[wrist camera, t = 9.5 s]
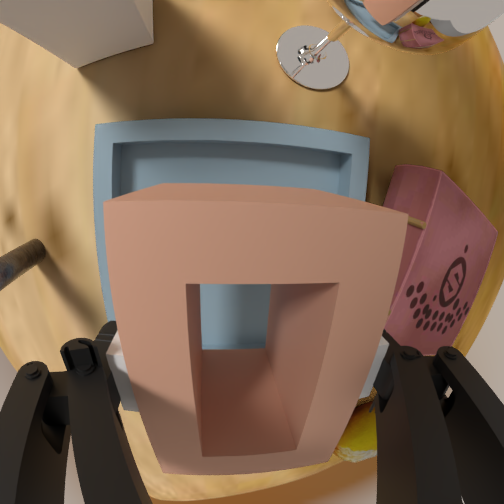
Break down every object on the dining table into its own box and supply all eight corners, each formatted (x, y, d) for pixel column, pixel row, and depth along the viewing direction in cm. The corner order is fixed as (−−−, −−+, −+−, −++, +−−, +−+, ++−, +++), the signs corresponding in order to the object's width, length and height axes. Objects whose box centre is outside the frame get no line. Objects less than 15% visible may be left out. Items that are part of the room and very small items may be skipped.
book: (388, 160, 19) (435, 165, 15) (465, 221, 25) (498, 232, 20) (326, 323, 22) (359, 357, 18) (419, 333, 27) (447, 353, 23)
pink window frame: (287, 388, 18) (319, 477, 11) (176, 391, 17) (170, 487, 10) (314, 189, 14) (408, 214, 7) (162, 183, 13) (103, 201, 6)
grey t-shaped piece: (25, 222, 18) (-55, 259, 8) (41, 221, 19) (-40, 260, 9) (33, 277, 20) (-33, 333, 10) (49, 278, 20) (-17, 339, 10)
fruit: (308, 442, 31) (335, 475, 24) (350, 384, 33) (387, 410, 25) (353, 450, 34) (380, 475, 27) (390, 400, 36) (423, 421, 28)
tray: (107, 128, 18) (95, 124, 15) (355, 140, 21) (369, 138, 18) (124, 350, 23) (118, 366, 21) (325, 348, 26) (334, 362, 24)
